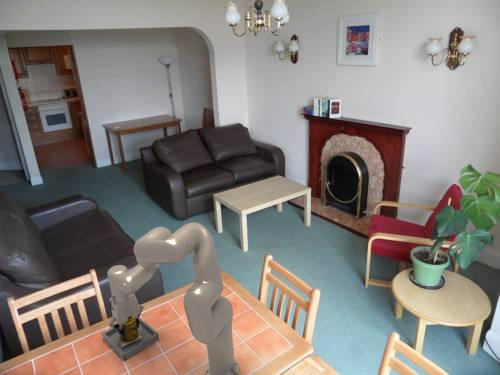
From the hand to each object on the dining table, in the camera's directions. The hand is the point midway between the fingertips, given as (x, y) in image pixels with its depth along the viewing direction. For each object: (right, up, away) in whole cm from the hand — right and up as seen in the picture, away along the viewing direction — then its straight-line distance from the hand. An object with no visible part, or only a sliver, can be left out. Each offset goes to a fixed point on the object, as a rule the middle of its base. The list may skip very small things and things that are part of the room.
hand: (129, 330), depth 155 cm
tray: (0, -5, +2) cm, 5 cm away
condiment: (0, -4, +1) cm, 4 cm away
